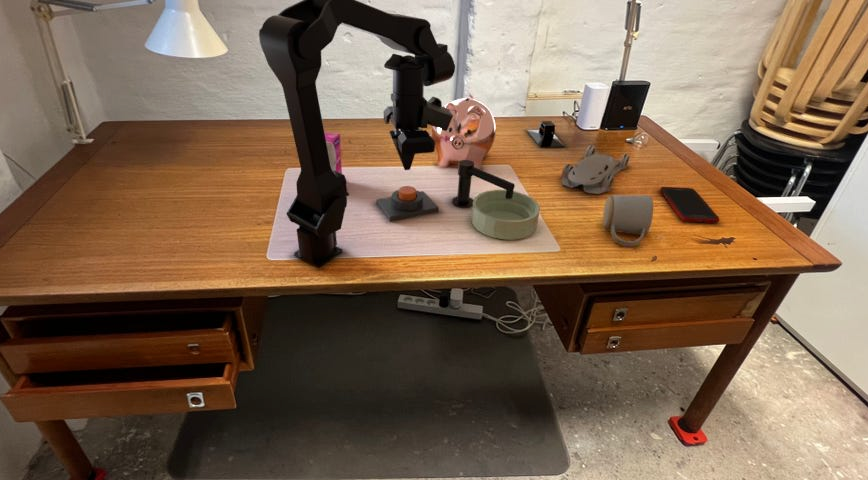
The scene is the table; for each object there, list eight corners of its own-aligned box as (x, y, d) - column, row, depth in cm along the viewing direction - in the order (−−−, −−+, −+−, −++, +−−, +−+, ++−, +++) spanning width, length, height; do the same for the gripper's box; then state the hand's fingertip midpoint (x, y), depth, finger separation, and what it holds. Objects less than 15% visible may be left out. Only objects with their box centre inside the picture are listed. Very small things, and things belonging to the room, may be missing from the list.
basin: (519, 249, 96) (522, 229, 94) (459, 227, 102) (461, 208, 100) (546, 221, 105) (550, 201, 103) (489, 202, 111) (492, 184, 109)
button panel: (389, 221, 103) (389, 209, 102) (376, 204, 109) (376, 191, 108) (438, 212, 107) (439, 199, 105) (422, 195, 113) (423, 183, 111)
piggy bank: (423, 172, 123) (426, 106, 113) (438, 144, 137) (442, 84, 128) (486, 180, 120) (494, 114, 111) (495, 151, 134) (503, 90, 125)
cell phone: (682, 222, 106) (683, 218, 106) (658, 190, 118) (659, 186, 118) (719, 224, 106) (721, 219, 105) (691, 191, 118) (693, 187, 117)
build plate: (526, 131, 147) (529, 115, 145) (550, 131, 148) (553, 115, 145) (540, 147, 137) (543, 131, 134) (566, 147, 138) (569, 130, 135)
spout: (454, 177, 107) (455, 162, 105) (464, 173, 109) (465, 158, 107) (506, 201, 99) (509, 185, 97) (516, 196, 101) (519, 180, 99)
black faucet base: (466, 210, 108) (469, 182, 104) (447, 204, 110) (449, 176, 106) (477, 202, 111) (480, 174, 108) (458, 195, 113) (461, 168, 110)
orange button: (402, 202, 105) (402, 195, 104) (396, 194, 107) (396, 187, 106) (418, 199, 106) (418, 192, 105) (411, 192, 109) (411, 184, 108)
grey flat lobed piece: (629, 166, 129) (635, 147, 126) (599, 202, 113) (604, 182, 110) (587, 155, 134) (591, 136, 131) (552, 188, 118) (556, 168, 115)
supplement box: (335, 191, 113) (331, 142, 107) (310, 188, 114) (305, 140, 108) (343, 180, 118) (340, 133, 111) (319, 177, 119) (314, 130, 112)
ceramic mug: (599, 218, 107) (608, 185, 102) (639, 222, 106) (650, 189, 101) (605, 246, 98) (615, 211, 94) (649, 250, 97) (661, 216, 93)
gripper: (465, 105, 88) (458, 186, 97) (436, 75, 103) (433, 148, 112) (402, 108, 86) (401, 191, 95) (382, 77, 100) (383, 152, 110)
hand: (406, 169), depth 103 cm, fingers closed
